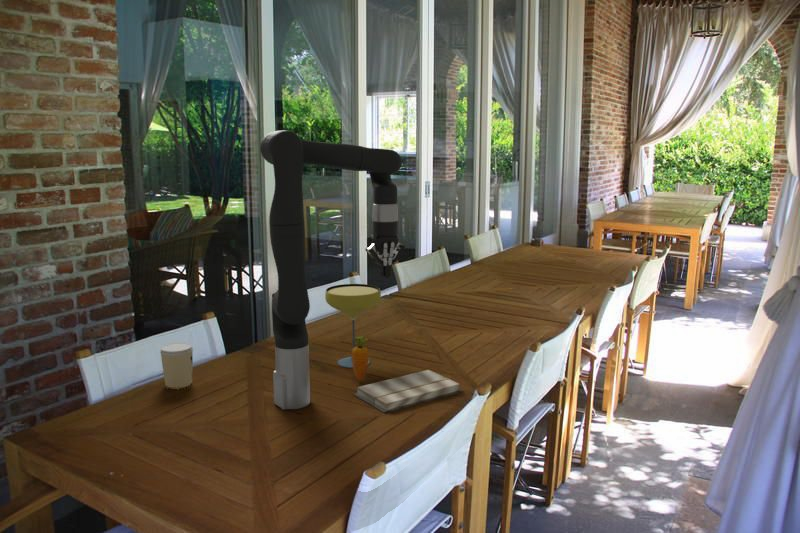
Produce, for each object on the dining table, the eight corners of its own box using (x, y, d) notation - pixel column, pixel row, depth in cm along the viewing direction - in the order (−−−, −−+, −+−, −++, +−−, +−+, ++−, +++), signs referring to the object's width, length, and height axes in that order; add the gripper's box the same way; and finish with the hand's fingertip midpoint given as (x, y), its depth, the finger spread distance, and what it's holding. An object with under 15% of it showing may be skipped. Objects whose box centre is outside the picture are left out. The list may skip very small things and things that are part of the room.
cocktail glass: (348, 376, 209) (347, 298, 204) (315, 361, 223) (314, 288, 218) (392, 363, 221) (392, 290, 216) (358, 350, 234) (357, 281, 230)
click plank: (374, 403, 186) (374, 396, 186) (357, 393, 194) (357, 387, 193) (446, 384, 201) (446, 377, 201) (428, 375, 208) (428, 369, 208)
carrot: (360, 378, 207) (359, 332, 204) (371, 382, 204) (371, 335, 201) (348, 383, 203) (348, 335, 200) (360, 386, 200) (360, 338, 197)
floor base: (384, 413, 181) (384, 404, 180) (353, 395, 194) (353, 386, 193) (462, 391, 197) (463, 382, 196) (429, 375, 209) (429, 368, 209)
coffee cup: (200, 384, 202) (198, 346, 200) (172, 393, 195) (169, 353, 193) (185, 377, 208) (182, 340, 206) (156, 385, 201) (154, 347, 199)
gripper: (373, 222, 187) (373, 282, 190) (411, 218, 194) (411, 277, 197) (359, 219, 193) (359, 278, 196) (396, 216, 200) (396, 273, 203)
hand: (385, 277), depth 197 cm, fingers closed
